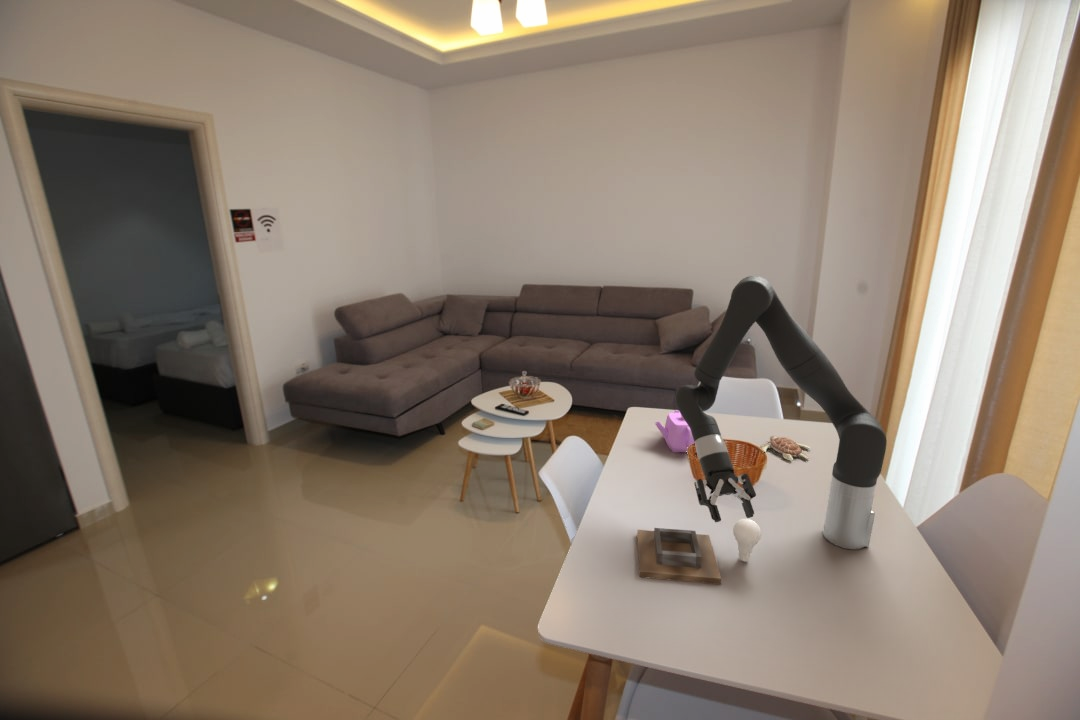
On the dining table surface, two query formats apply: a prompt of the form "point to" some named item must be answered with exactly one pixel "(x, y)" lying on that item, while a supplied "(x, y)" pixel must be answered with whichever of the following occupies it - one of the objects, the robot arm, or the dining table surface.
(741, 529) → the lightbulb
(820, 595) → the dining table surface
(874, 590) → the dining table surface
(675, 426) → the teakettle
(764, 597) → the dining table surface
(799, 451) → the decorative turtle
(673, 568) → the bulb holder
